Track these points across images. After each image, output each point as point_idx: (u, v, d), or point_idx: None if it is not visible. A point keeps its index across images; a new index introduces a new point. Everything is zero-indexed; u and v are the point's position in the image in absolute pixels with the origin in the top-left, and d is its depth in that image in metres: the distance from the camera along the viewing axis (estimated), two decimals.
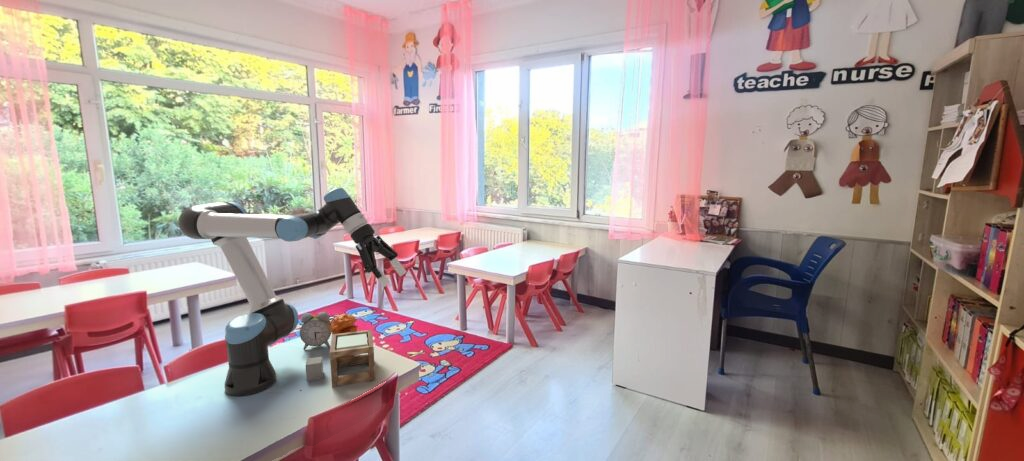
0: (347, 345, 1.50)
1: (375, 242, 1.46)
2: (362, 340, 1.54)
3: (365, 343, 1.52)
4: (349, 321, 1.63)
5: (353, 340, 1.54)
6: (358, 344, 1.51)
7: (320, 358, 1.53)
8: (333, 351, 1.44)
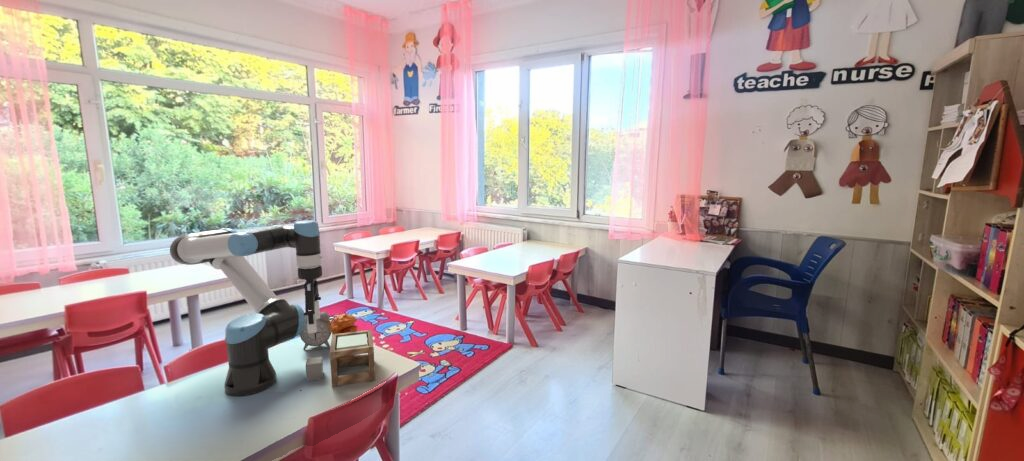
0: (347, 345, 1.50)
1: None
2: (362, 340, 1.54)
3: (365, 343, 1.52)
4: (349, 321, 1.63)
5: (353, 340, 1.54)
6: (358, 344, 1.51)
7: (320, 358, 1.53)
8: (333, 351, 1.44)
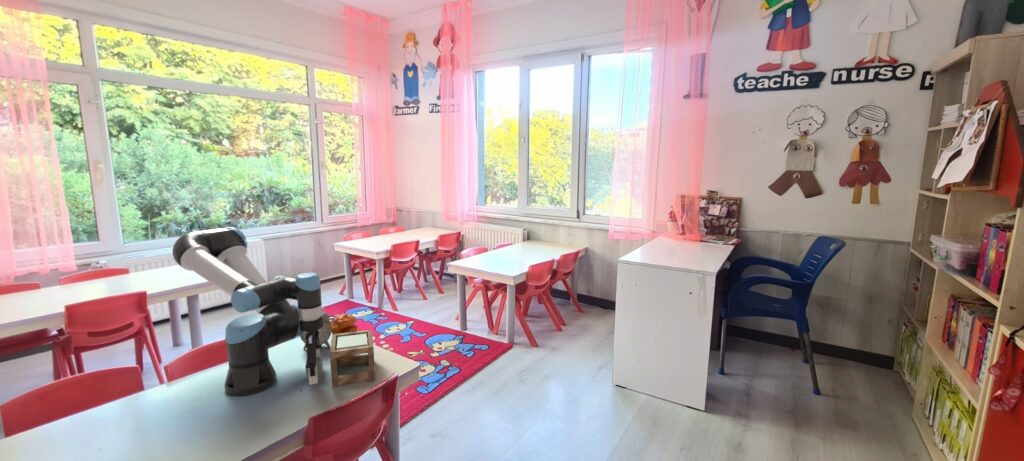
0: (347, 345, 1.50)
1: None
2: (362, 340, 1.54)
3: (365, 343, 1.52)
4: (349, 321, 1.63)
5: (353, 340, 1.54)
6: (358, 344, 1.51)
7: (320, 358, 1.53)
8: (333, 351, 1.44)
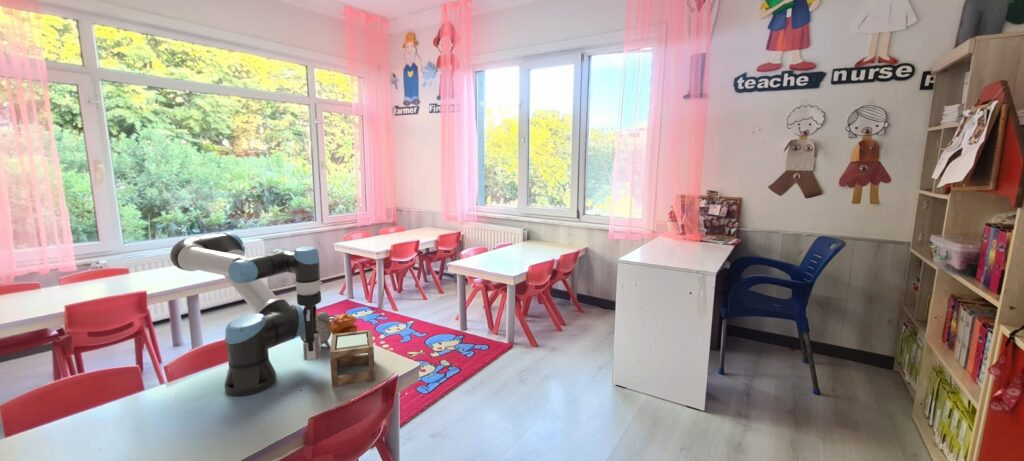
0: (347, 345, 1.50)
1: (314, 309, 1.50)
2: (362, 340, 1.54)
3: (365, 343, 1.52)
4: (349, 321, 1.63)
5: (353, 340, 1.54)
6: (358, 344, 1.51)
7: (318, 338, 1.52)
8: (333, 351, 1.44)
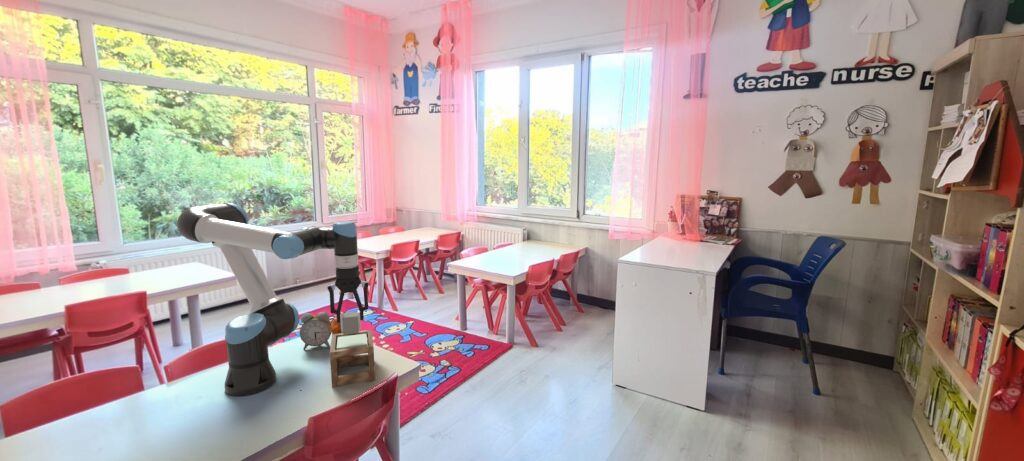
0: (347, 345, 1.50)
1: (350, 285, 1.48)
2: (362, 340, 1.54)
3: (365, 343, 1.52)
4: None
5: (353, 340, 1.54)
6: (358, 344, 1.51)
7: (353, 316, 1.49)
8: (333, 351, 1.44)
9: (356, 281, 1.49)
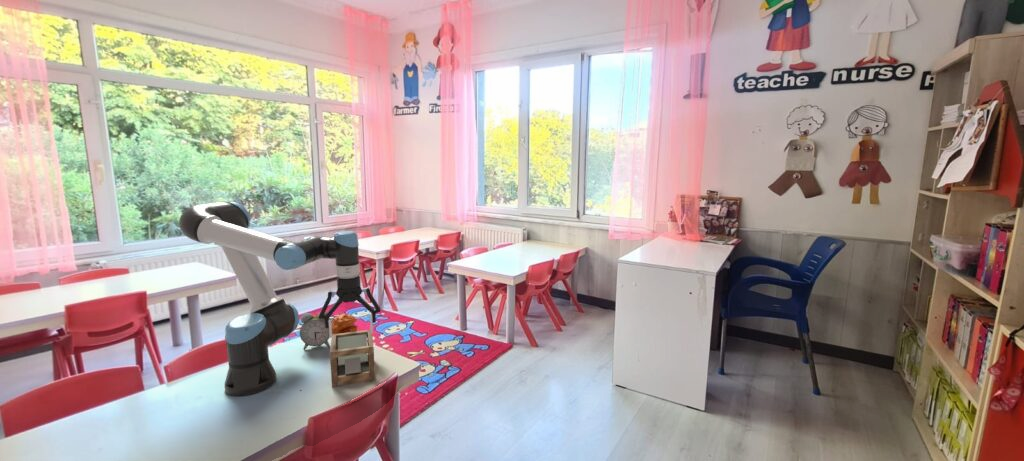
0: None
1: (352, 295, 1.48)
2: None
3: (366, 358, 1.55)
4: (349, 321, 1.63)
5: None
6: None
7: (356, 371, 1.47)
8: (333, 351, 1.44)
9: (357, 291, 1.49)
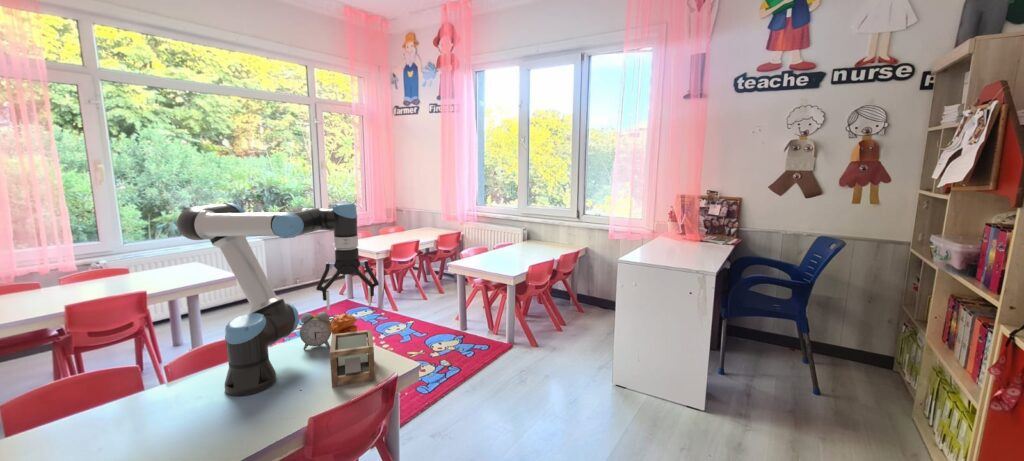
0: None
1: (350, 268, 1.47)
2: None
3: (366, 359, 1.56)
4: (349, 321, 1.63)
5: None
6: None
7: (356, 370, 1.47)
8: (333, 351, 1.44)
9: (355, 264, 1.48)
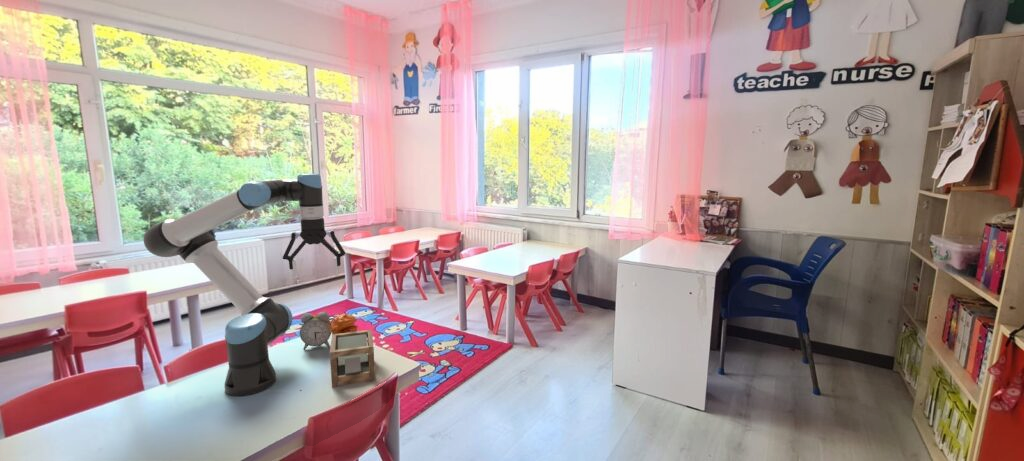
0: None
1: (316, 237, 1.50)
2: None
3: (366, 359, 1.56)
4: (349, 321, 1.63)
5: None
6: None
7: (356, 370, 1.48)
8: (333, 351, 1.44)
9: (321, 233, 1.51)
